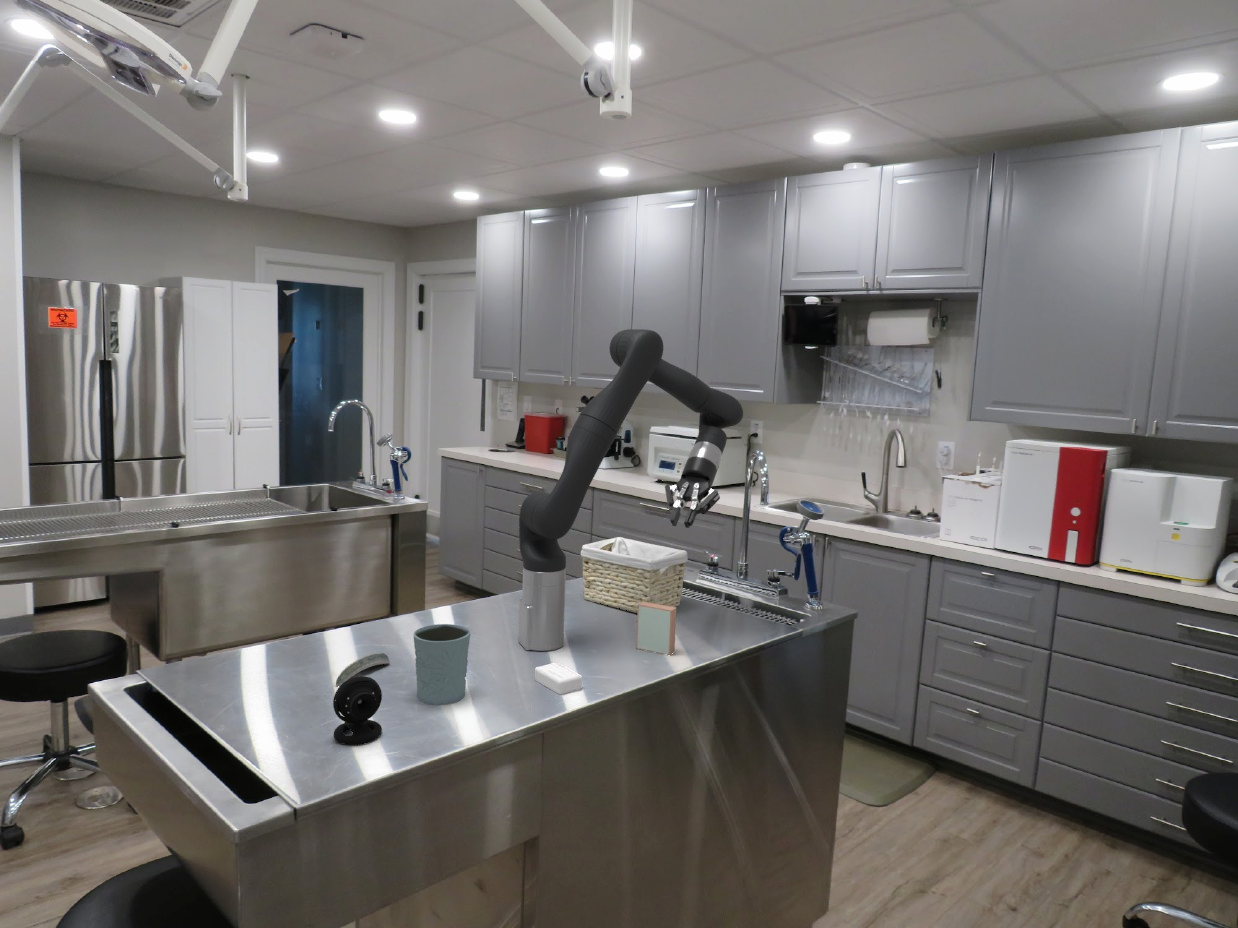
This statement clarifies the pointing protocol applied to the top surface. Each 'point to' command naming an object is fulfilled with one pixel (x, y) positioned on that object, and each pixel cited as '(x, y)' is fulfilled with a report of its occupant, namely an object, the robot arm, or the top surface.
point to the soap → (558, 678)
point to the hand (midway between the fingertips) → (680, 524)
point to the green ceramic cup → (441, 663)
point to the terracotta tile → (656, 628)
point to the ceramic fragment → (362, 666)
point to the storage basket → (632, 573)
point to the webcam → (357, 710)
